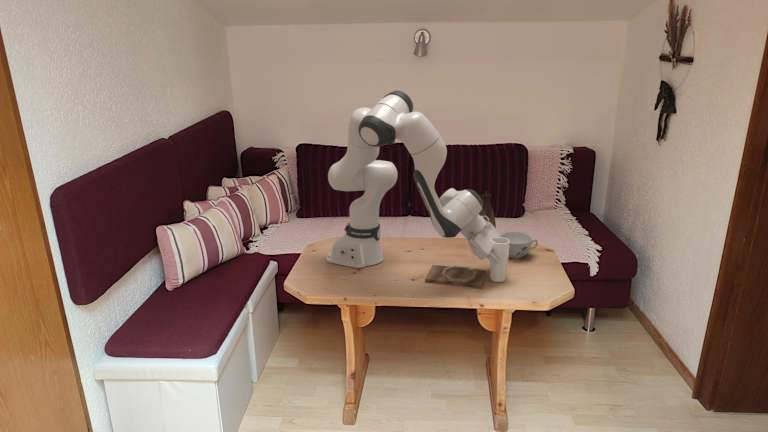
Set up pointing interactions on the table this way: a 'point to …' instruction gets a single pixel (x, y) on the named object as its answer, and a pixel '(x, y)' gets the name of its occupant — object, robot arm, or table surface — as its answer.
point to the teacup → (519, 243)
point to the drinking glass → (502, 254)
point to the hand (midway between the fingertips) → (500, 258)
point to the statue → (488, 209)
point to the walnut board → (456, 276)
